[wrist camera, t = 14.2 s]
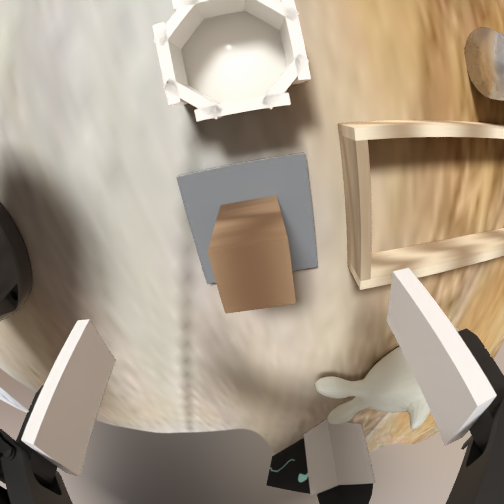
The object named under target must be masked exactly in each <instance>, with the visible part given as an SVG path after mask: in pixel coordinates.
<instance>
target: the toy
mask: <svg viewBox="0 0 504 504" xmlns="http://www.w3.org/2000/svg"><path fill="white" fill-rule="evenodd" d="M453 327H454V328H455V329H456V331H457V332H459V331H460V330H459V329H458V328H457V327H455V326H453ZM315 387H316V390H317V391H318V392H319V393H320V394H322V395H324V396H326V397H329V398H335V399H341V398H346V397H349V396H355V398H354V399H352V400H350V401H348V402H345V403H343V404H341V405H339V406H337V407H336V408H334V409H333V410H332V411H331V412H330V413H329V415H328V422H329V423H330V424H342V423H345V422H348V421H349V420H351V419H352V418H353V416H354V415H355V414H356V413H357V412H358V411H360V410H363V409H367V408H372V409H375V410H378V411H382V412H391V413H397V412H408V413H409V416H410V427H411V429H413V430H414V429H416V428H418V427H419V426H420V425H421V424H422V423H423V422H424V421H425V419H426V418H427V417H428V415H429V414H430V412H431V411H430V409H429V406H428V404H427V402H426V400H425V397H424V395H423V393H422V391H421V389H420V387H419V384H418V382H417V380H416V378H415V376H414V374H413V372H412V370H411V368H410V366H409V364H408V362H407V360H406V358H405V356H404V354H403V352H402V350H401V348H400V346H399V347H397V348H396V349H394V350H393V351H391V352H390V353H388V354H387V355H386V356H385V357H383V358H382V359H381V360H380V361H379V362H378V363H376V364H375V365H374V366H373V368H372V369H371V370H370V371H369V372H368V374H367V375H366V377H365V378H364V379H362V380H358V381H348V380H345V379H342V378H339V377H335V376H328V377H323V378H320V379H318V380H317V381H316V383H315Z"/></svg>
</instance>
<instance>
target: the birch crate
mask: <svg viewBox="0 0 504 504" xmlns="http://www.w3.org/2000/svg"><path fill="white" fill-rule="evenodd" d="M338 130H339V138H340V147H341V156H342V166H343V177H344V190H345V205H346V223H347V251H348V267H349V269H350V271H351V273H352V275H353V277H354V279H355V281H356V283H357V285H358V286H359V288H360V290H362V289H367V288H372V287H377V286H382V285H387V284H392V274H393V271H396V270H401V269H405V268H409V269H410V270H411V271H412V272H413V274H414V275H415V276H416V277H417V278H419V277H423V276H428V275H432V274H436V273H440V272H444V271H448V270H452V269H456V268H460V267H464V266H468V265H472V264H475V263H479V262H483V261H487V260H490V259H494V258H497V257H501V256H504V228H501V229H496V230H491V231H486V232H481V233H476V234H472V235H467V236H461V237H456V238H451V239H446V240H441V241H436V242H431V243H425V244H420V245H415V246H409V247H404V248H399V249H393V250H388V251H382V252H376V253H371V252H372V208H371V180H370V163H369V150H368V140H372V139H388V138H409V137H479V138H499V139H504V125H501V124H492V123H481V122H467V121H447V120H388V121H366V122H351V123H338Z"/></svg>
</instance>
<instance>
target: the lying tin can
mask: <svg viewBox="0 0 504 504" xmlns="http://www.w3.org/2000/svg"><path fill="white" fill-rule="evenodd" d="M465 59H466V65H467V71H468V74H469V77H470V79H471V81H472V83H473V84H474V86H475V87H476V89H477V90H478V91H479V92H480V93H481V94H483V95H484V96H486V97H488V98H491V99H496V100H501V101H504V34H503V33H500V32H498V31H495V30H492V29H490V28H486V27H480V28H477V29H475V30H474V31H473V32H472V33H471V34H470V35H469V37H468V39H467V42H466V46H465Z"/></svg>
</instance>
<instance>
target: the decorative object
mask: <svg viewBox="0 0 504 504" xmlns="http://www.w3.org/2000/svg"><path fill="white" fill-rule="evenodd" d="M373 483H375V478H374V474H373V470H372V465H371V461H370V457H369V452H368V448H367V444H366V440H365V436H364V432H363V428H362V424H356V423H349V422H345V423H342V424H330V423H329V422H328V419H326V420H324V421H323V422H321V423H320V424H319V425H317V426H316V427H314V428H313V429H311V430H310V431H308V432H307V433H305V434H304V438H303V439H301V440H300V441H298V442H296V443H295V444H293V445H291V446H290V447H288V448H286V449H285V450H283V451H281V452H279V453H278V454H276V455H274V456H273V457H272V461H271V466H270V471H269V476H268V480H267V485H268V486H272V487H277V488H281V489H286V490H291V491H297V492H303V493H309V494H310V495H317V496H318V500H319V503H320V504H369V501H370V498H371V495H372V489H373Z"/></svg>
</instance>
